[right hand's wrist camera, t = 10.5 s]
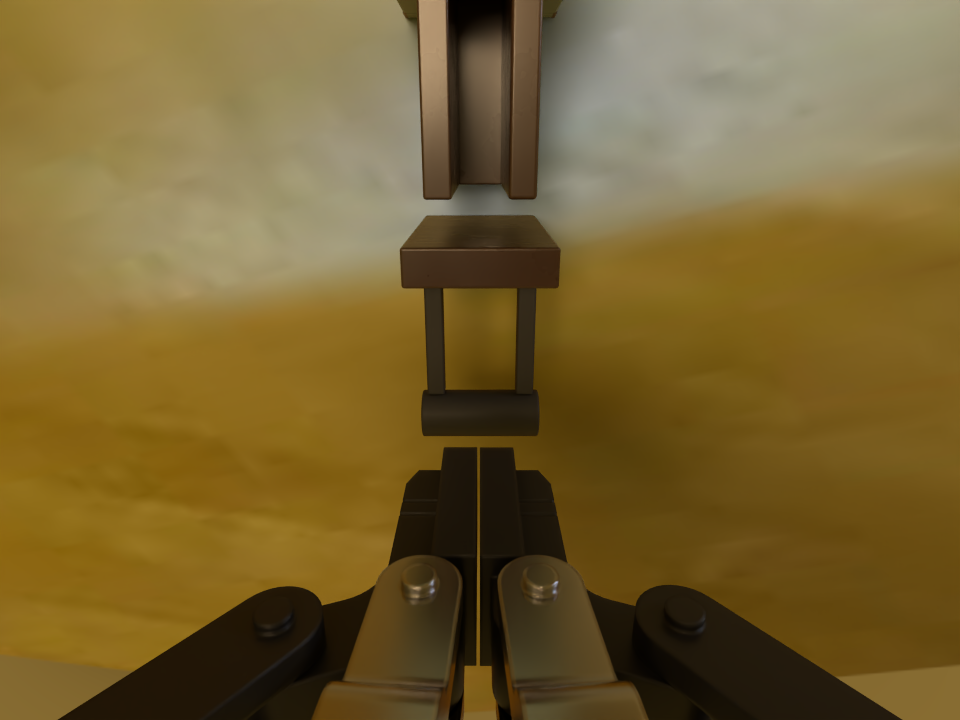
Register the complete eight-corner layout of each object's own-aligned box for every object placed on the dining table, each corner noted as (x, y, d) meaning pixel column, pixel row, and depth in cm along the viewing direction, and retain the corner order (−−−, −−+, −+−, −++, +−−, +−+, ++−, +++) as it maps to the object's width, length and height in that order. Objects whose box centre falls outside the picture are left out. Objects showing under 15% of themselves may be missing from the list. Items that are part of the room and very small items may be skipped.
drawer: (529, 371, 27) (550, 465, 19) (430, 371, 27) (410, 465, 19) (554, -400, 18) (612, -839, 10) (405, -400, 18) (344, -839, 10)
